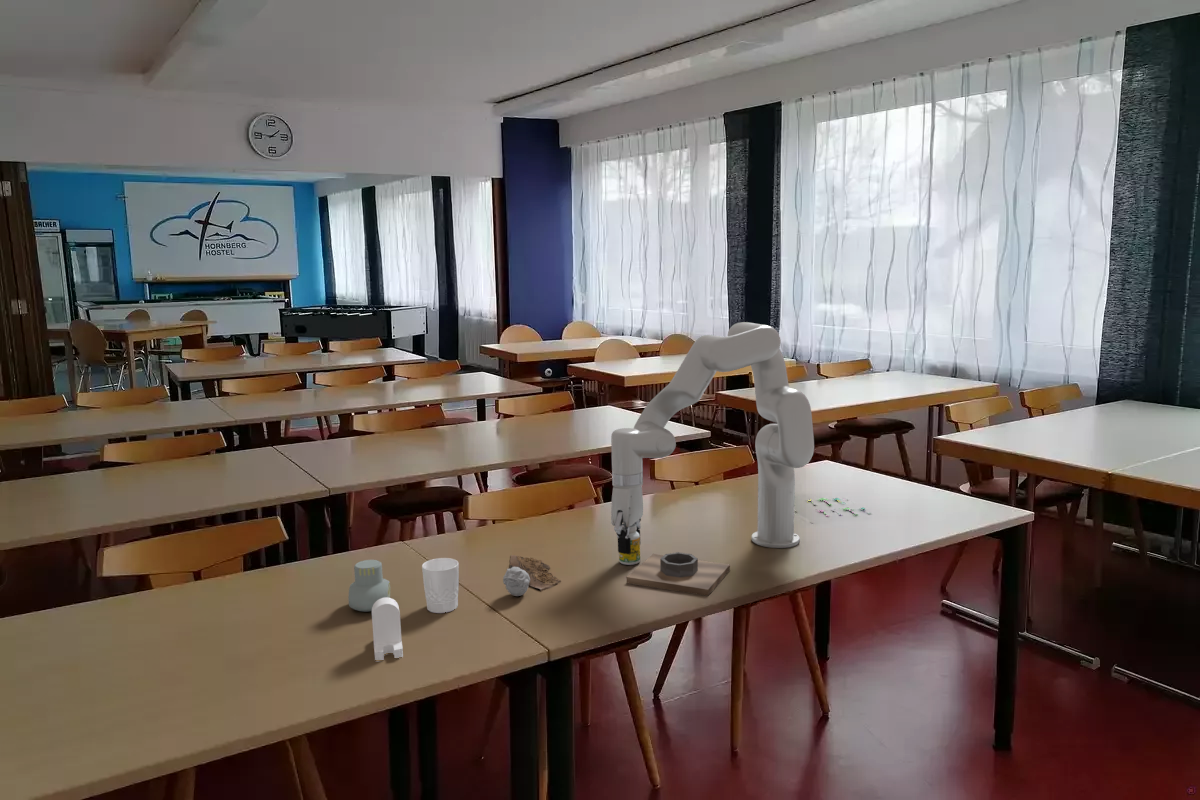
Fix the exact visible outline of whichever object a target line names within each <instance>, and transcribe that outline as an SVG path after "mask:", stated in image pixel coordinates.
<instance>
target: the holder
mask: <svg viewBox="0 0 1200 800" xmlns="http://www.w3.org/2000/svg"><path fill="white" fill-rule="evenodd" d="M730 571H731V565H730V564H729V563H723V562H722V563H721V562H714V561H706V560H700V559H698V558H697V557H696V556H695V555H694V554H692V553H685V552H679V551H677V552H672V553H671V552H670V553H665V554H657V553H652V554H651V555H650V556H649V557H648V558H647V559H645V560H644V561H643V562H642V563H641V564H639V565H638V566H637V567H636V568H635V569H633V571H631V572H630V574H628V575H627V576H626V584H631V585H637V586H645V587H650V588H656V589H662V590H668V591H675V592H681V593H688V594H694V595H701V596H710V594H711V593H712V592H713V591H714V590H715V588H717V586H718V585H719V584H720V583H721V581H723V579H724V578H725V577H726V575H727V574H728V573H730Z"/></svg>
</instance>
